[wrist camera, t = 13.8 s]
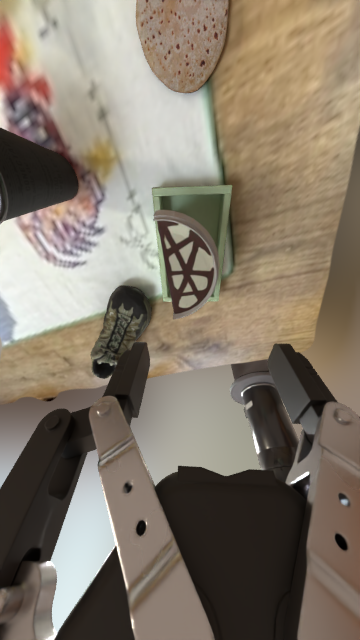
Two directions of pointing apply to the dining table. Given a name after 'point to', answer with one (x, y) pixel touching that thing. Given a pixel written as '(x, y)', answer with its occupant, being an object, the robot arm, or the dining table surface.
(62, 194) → the drinking cup
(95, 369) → the hiking shoe
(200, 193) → the holder
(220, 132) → the dining table surface
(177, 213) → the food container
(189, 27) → the flatbread
